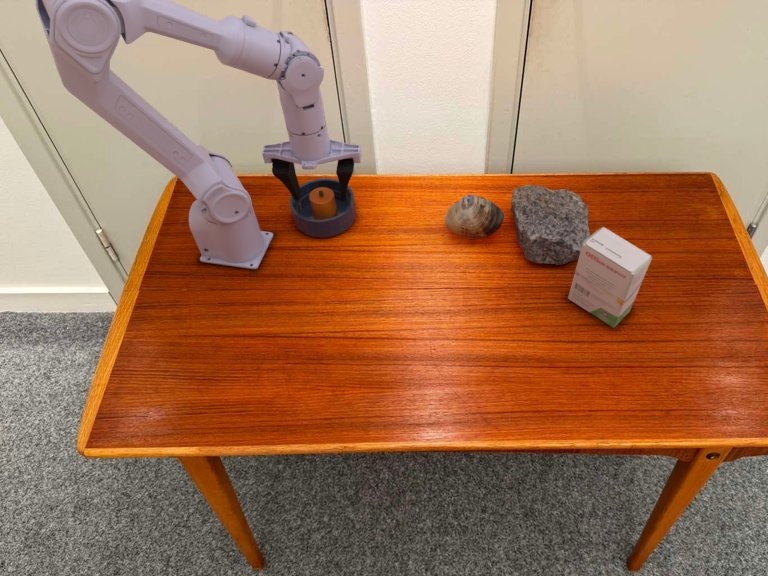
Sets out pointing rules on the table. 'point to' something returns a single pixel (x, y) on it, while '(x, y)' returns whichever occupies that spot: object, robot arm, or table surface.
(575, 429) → the table surface
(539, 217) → the rock
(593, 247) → the ink box
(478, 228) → the seashell
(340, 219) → the bowl
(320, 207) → the squash
